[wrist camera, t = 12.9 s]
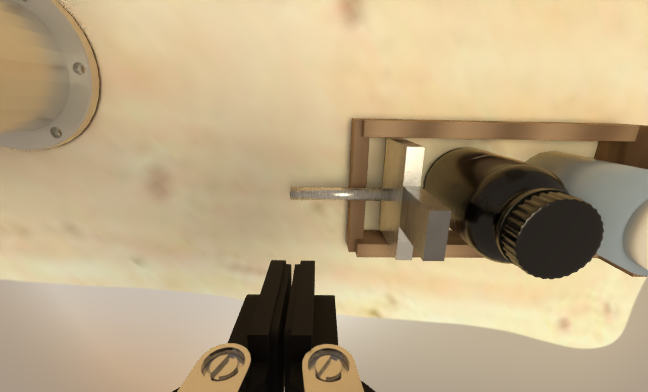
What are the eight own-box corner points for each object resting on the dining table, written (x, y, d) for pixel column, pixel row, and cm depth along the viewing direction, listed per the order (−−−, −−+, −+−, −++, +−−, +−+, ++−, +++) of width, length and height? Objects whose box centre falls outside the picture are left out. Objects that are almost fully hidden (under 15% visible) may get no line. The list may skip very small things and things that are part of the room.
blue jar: (504, 218, 29) (614, 284, 18) (518, 150, 27) (650, 181, 16) (570, 218, 29) (716, 285, 18) (588, 152, 27) (763, 182, 16)
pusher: (293, 227, 28) (281, 302, 17) (292, 135, 26) (277, 157, 15) (392, 228, 28) (437, 301, 18) (400, 137, 26) (459, 160, 15)
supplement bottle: (476, 131, 26) (604, 151, 15) (508, 193, 28) (644, 255, 16) (407, 174, 27) (477, 225, 16) (442, 232, 29) (527, 317, 17)
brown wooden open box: (346, 241, 29) (354, 276, 23) (352, 118, 25) (363, 122, 20) (582, 243, 30) (646, 276, 24) (617, 123, 26) (702, 129, 21)
